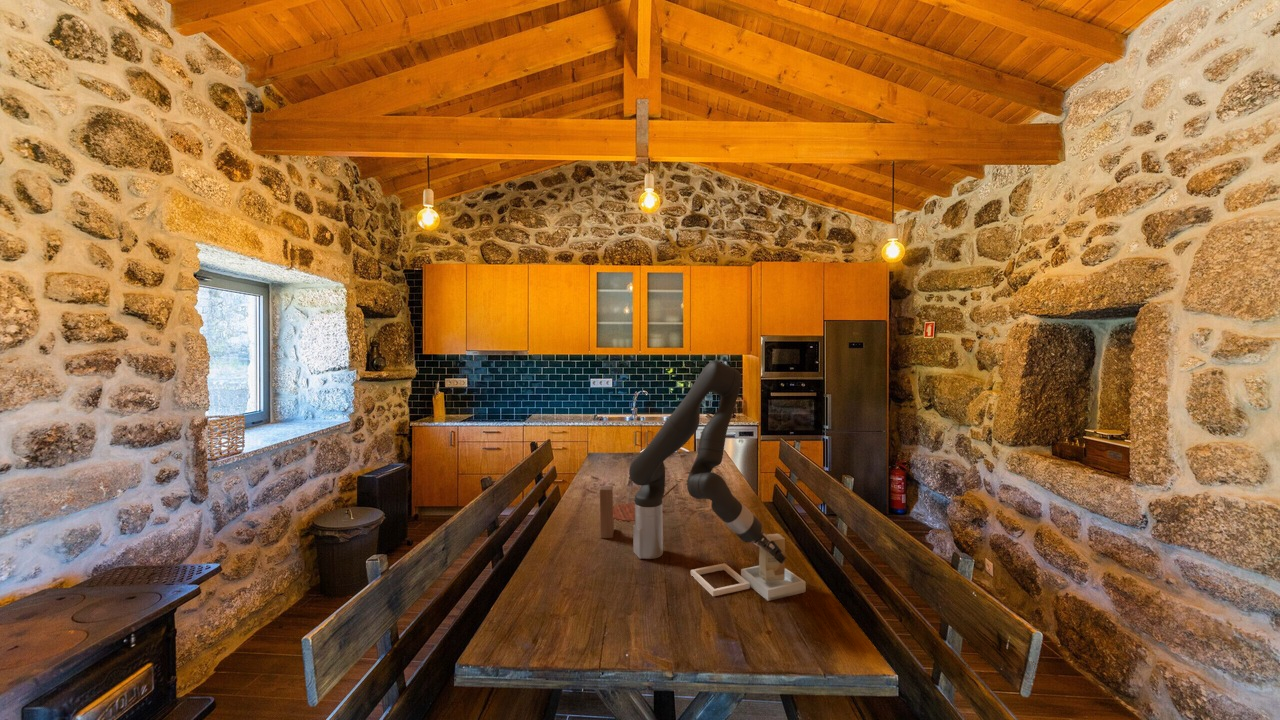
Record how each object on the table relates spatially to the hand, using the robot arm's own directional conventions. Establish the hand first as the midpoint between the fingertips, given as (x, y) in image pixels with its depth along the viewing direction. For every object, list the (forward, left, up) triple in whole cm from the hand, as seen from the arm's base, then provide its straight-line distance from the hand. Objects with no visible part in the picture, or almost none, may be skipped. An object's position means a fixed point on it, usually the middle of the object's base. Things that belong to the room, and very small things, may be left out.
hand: (777, 556), depth 146 cm
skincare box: (-2, 0, -6) cm, 6 cm away
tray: (-2, 0, -8) cm, 8 cm away
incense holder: (-14, +73, -9) cm, 75 cm away
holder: (-15, +8, -8) cm, 19 cm away
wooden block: (-35, +56, -8) cm, 66 cm away
